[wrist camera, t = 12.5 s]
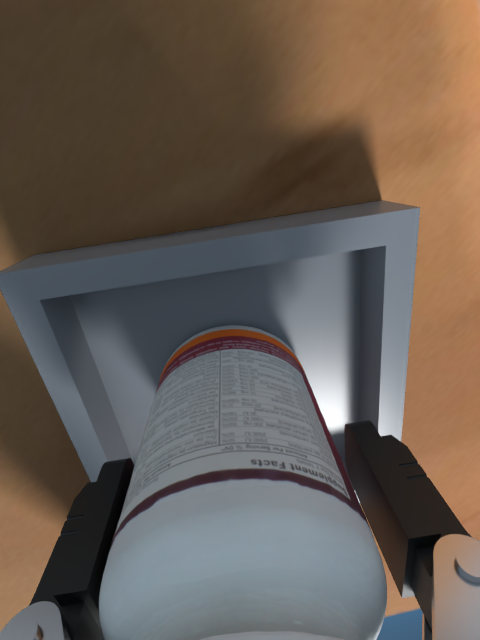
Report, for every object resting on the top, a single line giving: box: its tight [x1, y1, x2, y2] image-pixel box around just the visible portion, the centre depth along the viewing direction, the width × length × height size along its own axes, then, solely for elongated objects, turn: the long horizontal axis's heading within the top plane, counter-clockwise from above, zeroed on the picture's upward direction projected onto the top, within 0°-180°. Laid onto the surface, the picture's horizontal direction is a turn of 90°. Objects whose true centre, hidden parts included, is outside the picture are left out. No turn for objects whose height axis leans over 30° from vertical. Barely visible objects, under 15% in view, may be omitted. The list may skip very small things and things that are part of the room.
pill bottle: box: [99, 325, 387, 640], centre depth 9 cm, size 6×6×11 cm
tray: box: [0, 200, 420, 503], centre depth 14 cm, size 13×13×2 cm
